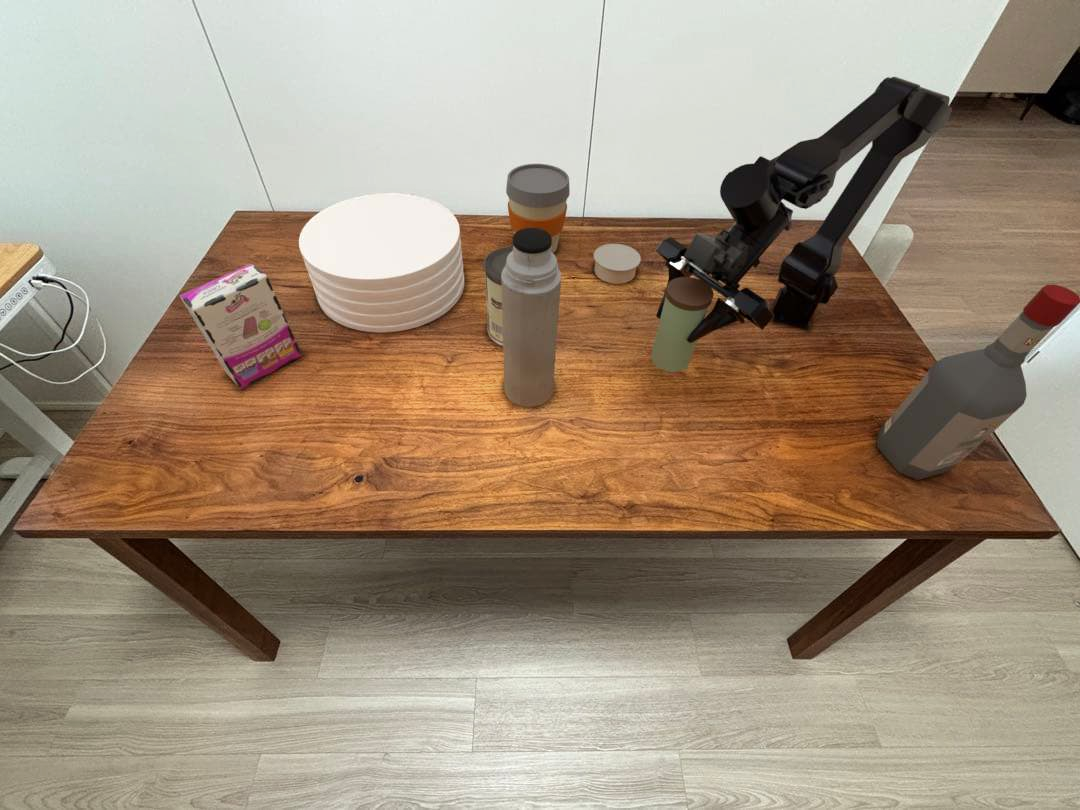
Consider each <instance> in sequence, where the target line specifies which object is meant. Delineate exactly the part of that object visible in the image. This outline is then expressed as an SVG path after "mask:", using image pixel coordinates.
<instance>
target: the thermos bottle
mask: <svg viewBox="0 0 1080 810" xmlns="http://www.w3.org/2000/svg"><path fill="white" fill-rule="evenodd" d="M551 245H552V237H551V235H550V234H549V233H548V232H546V231H545V230H542V229H539V228H525V229H521V230H519V231H517V232H516V233H515V234H514V233H513V236H512V246H513V251H512V252H510V254H509V255H508V257H507V260H506V265H505V267H504V269H503V271H502V275H501V284H502V322H503V346H502V353H503V355H502V356H503V357H502V358H503V389H504V394H505V396H506V397H507V400H509V401H510V402H512V403H513V404H515V405H517V406H520V407H526V408H533V407H537V406H541V405H543V404H545V403H546V402H547V401H548V400H549V399H551V397H552V395H553V392H554V383H555V381H554V380H555V368H556V356H557V355H556V353H557V341H558V329H559V327H558V326H559V314H560V303H561V301H560V300H561V290H562V289H561V287H562V286H561V284H562V272H561V270H560V268H559V263H558V259H557V257H556V255H555V254H554V253H552V252H551Z"/></svg>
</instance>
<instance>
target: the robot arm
mask: <svg viewBox="0 0 1080 810" xmlns="http://www.w3.org/2000/svg"><path fill="white" fill-rule="evenodd" d="M950 100H951V98H950V96H949V95H946V94H943V93H940V92H937V91H935V90H932V89H928V88H925V87H922V86H921V85H920V84H918V83H915V82H912V81H909V80H907V79H904V78H900V77H898V76H892V77H890V76H889V77H888V76H887V77H885V78H884V79H883V80H882V81H881V82H880V83H879V84H878V85H877V87H876V89H875V90H874V92H872V93H871V94H870V95H869V96H868V97H866V98H865V100H863V101H862V102H861V103H859V104H858V105H856V106H855V108H853V109H852V110H851V111H850V112H849V113H847V114H846V115H845V116H844V117H842V118H841V119H840V120H839V121H838V122H837V123H835V124H834V125H832V127H830V128H829V129H828V130H827V131H825V132H824V133H823V134H822V135H820V136H819V137H816V138H811V139H807V140H801V141H799V142H797V143H795V144H794V145H792V146H791V147H789V148H787V149H786V150H784V151H783V152H781V153H780V154H779V155H777V156H775V157H774V158H771V159H768V158H766V157H764V156H762V155H760V156H759V157H758V158H757V159H756V160H755V161H754V163H745V164H742V165H739V166H738V167H736V168H734V169H733V170H732V171H729V172H727V174H725V176H724V178H723V180H722V182H721V184H720V187H719V195H720V198H721V200H722V202H723V204H724V206H725V207H726V209H727V211H728V212H729V214H730V216H731V217H732V219H733V220H734V223H733V224H732V225H731V227H730V228H729V229H728V230H726V229H724V228H723V229H722V230H721V231H719V232H718V234H717V235H716V236H715V237H714V236H711V235H708V234H702V233H698V232H697V233H695V235H694V236H693V238H692V239H691V242H690V243H689V245H688V247H687V246H685V245H683V244H682V243H681V242H679V241H677V240H676V239H674V238H673V237H672V236H670V237H667V238H665V239H663V240H661V242H660V243H659V244H658V246H657V247H656V248H655V250H654V251H655V252H656V253H657V254H658V255H660V257H661V258H662V259H663V260H664V261H665V265H664V266H665V267H666V268H667V269H668V280H667V283H666V287H665V290H664V293H663V296H662V299H661V301H660V304H659V307H658V309H657V311H656V314H655V316H656V318H657V319H659V320H660V317H661V314H662V310H663V306H664V302H665V298H666V294H665V293H666V288H667V285H668V283H669V282H670V281H671V280H673V279H675V278H679V277H692V276H694V278H696V279H699V280H702V281H704V282H705V283H707V284H708V285H709V286H710V287H711V288H712V290H713V291H715V292H717V293H718V294H720V295H721V296H722V297H724V298H725V301H724V300H723V299H722V298H720V297H718V298H717V300H716V302H715V304H714V306H713V308H712V310H711V311H710V312H709V313H708V314H706V316H705V318H704V320H703V321H702V322H701V323H700V324H699V325H698V326H697V327H696V328H695V329H694V331H693V332H692V333H691V334H690V336H689V337H688V339H687V341H688V342H689V343H692V342H694V341H696V340H697V341H698V340H700V339H702V338H704V337H706V336H707V335H710V334H711V333H713V332H715V331H717V330H718V329H721V328H724V327H726V326H730V325H732V324H735V323H736V322H739V323H740V324H742V325H743V324H744V323H745V322H746V320H747V321H749V322H750V323H751V324H753V325H754V326H756V327H757V328H759V329H760V330H762V331H764V329H765V328H766V327H767V326H768V324H770V323H771V322H772V321H773V322H774V323H777V324H781V325H786V326H790V327H791V326H792V327H796V328H800V329H805V330H809V329H810V327H811V320H812V317H813V316H814V313H815V311H816V310H817V308H818V306H819V305H820V304H822V305H823V304H824V305H826V304H828V303H829V301H830V300H831V298H832V296H833V295H835V292H836V291H837V289H838V287H839V285H838V282H837V278H836V274H837V272H838V271H839V269H840V268H841V266H842V252H843V246H844V244H845V243H846V242H847V240H848V238H850V236H851V234H852V232H853V231H854V230H855V228H856V227H857V226H858V224H859V222H860V221H861V220H862V218H863V217H864V215H865V214H866V212H867V210H868V209H869V208H870V206H871V205H872V203H873V202H874V200H875V199H876V198H877V196H878V195H879V193H880V192H881V191H882V189H883V187H884V186H885V185H886V183H887V182H888V180H889V179H890V177H891V176H892V174H893V173H894V171H895V170H896V169H897V167H898V166H899V164H900V163H901V162H902V160H904V159H905V158H906V157H908V156H910V155H911V154H913V153H915V152H916V151H919V150H920V149H921V148H923V147H924V146H926V145H927V143H928V142H929V140H931V138H932V137H933V136H934V135H935V134H936V133H938V132H939V131H941V129H943V127H944V125H945V124H946V123H947V121H948V120H949V118H950V116H951V114H952V110H953V109H952V106H950ZM869 144H871V147H870V149H869V150H868V152H867V153H866V155H865V156H864V158H863V159H862V161H861V163H860V164H859V165H858V167H857V169H856V170H855V172H854V173H853V175H852V176H851V178H850V180H849V181H848V183H847V184H846V186H845V188H844V189H843V190H842V191H841V194H840V195H839V196H838V198H837V200H836V201H835V203H834V204H833V206H832V207H831V209H830V211H829V212H828V213H827V215H826V217H825V219H824V220H823V221H822V223H821V225H820V226H819V227H818V229H817V231H816V232H815V234H814V235H812V236H811V237H809V238H807V239H806V240H804V241H802V242H801V241H799V242H798V243H795V244H794V246H793V247H792V249H791V251H790V253H789V254H787V255H786V256H785V258H784V259H783V260H782V262H781V264H780V268H779V273H778V279H777V282H778V283H780V284H782V285H784V286H783V287H780V288H779V289H778V291H777V294H776V296H775V298H774V300H773V301H772V307H771V306H770V304H769V302H768V301H767V300H766V299H765V298H763V297H762V296H760V295H759V294H757V293H755V292H754V291H753V290H752V289H750V288H748V287H744V288H742V289H739V288H740V287H741V285H740V284H739V283H740V281H741V280H742V279H743V277H745V276H746V274H747V273H748V272H749V271H750V270H751V269H752V267H753V268H755V269H756V268H757V267H758V266H759V265H760V264H761V260H760V258H761V257H762V255H764V253H765V252H766V251H767V250H768V248H769V247H770V246H771V245H772V244H773V243H774V242H775V240H776V239H777V238H778V237H779V236H780V234H781V233H782V232H783V231H789V230H791V227H792V224H793V219H792V216H793V214H794V210H793V209H791V208H790V207H788V206H786V205H785V204H784V202H783V200H784V201H786V202H787V203H789V204H792V206H795V207H797V208H800V209H804V210H807V209H809V208H811V207H813V206H814V205H816V204H818V203H820V202H821V201H822V200H823V199H824V198H825V197H826V196H828V194H829V192H830V190H831V189H832V188H833V186H834V184H835V179H836V176H837V172H838V171H839V170H840V169H841V168H842V167H843V166H844V165H846V164H847V163H848V162H849V161H850V160H852V159H853V158H854V157H855V156H857V155H858V154H859V153H860V152H862V151H863V149H865V148H866V147H867V146H869ZM745 319H746V320H745Z"/></svg>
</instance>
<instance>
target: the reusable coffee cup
mask: <svg viewBox="0 0 1080 810" xmlns="http://www.w3.org/2000/svg"><path fill="white" fill-rule="evenodd" d="M570 191H571V190H570V177H569V174H568V173H567V172H566V171H565V170H563V169H561V168H560V167H557V166H554V165H550V164H545V163H526V164H522V165H519V166H516V167H514V168H513V169H511V170H510V171H509V172H508V174H507V179H506V189H505V192H506V196H507V197H508V202H507V210H508V218H509V224H510V228H511V230H512V231H513V235H514V234H515V233H516V232H517V231H519V230H521V229H525V228H539V229H542V230H545V231H546V232H548V233H549V234H550V235H551V237H552V245H551V252H552V253H553V254H554V253H555V252H556V251H557V249H558V245H559V240H560V234H561V232H562V231H563V229H564V225H565V222H566V221H565V220H566V215H567V210H568V204H567V201H568V198H569V197H570Z"/></svg>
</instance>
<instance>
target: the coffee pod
mask: <svg viewBox="0 0 1080 810" xmlns="http://www.w3.org/2000/svg"><path fill="white" fill-rule="evenodd" d="M593 260H594V270H593V271H594V274H595V275H596V276H597V277H598V278H599V280H602V281H603V282H606V283H610V284H617V285H618V284H619V285H621V284H626V283H629V282H631V281H632V280H633V279H634V278H635V276H636V273H637V268H638V266H640V263H641V254H640V253H639V252H638V251H637V250H636V249H635V248H633V247H631V246H629V245H626V244H621V243H607V244H603V245H600V246H598V247H597V248H596V249H595V250H594V252H593Z"/></svg>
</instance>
